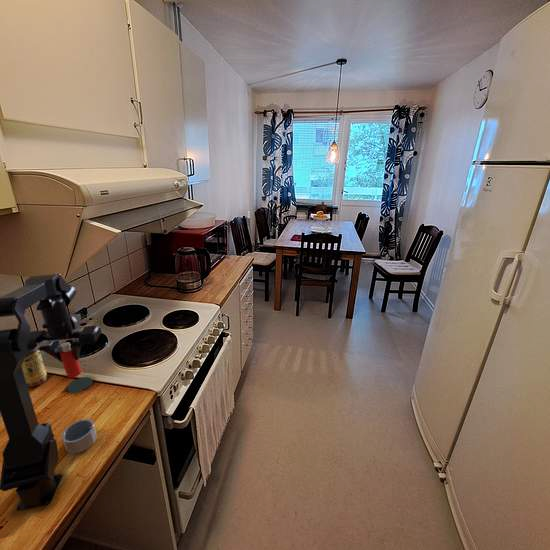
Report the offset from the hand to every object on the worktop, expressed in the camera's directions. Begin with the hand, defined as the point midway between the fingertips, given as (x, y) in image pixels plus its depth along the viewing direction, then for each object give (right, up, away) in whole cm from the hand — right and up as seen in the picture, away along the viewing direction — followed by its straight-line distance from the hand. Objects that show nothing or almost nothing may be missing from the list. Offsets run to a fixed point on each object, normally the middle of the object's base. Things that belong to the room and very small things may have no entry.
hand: (70, 360), depth 87 cm
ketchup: (0, -5, +2) cm, 5 cm away
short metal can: (+11, -19, -10) cm, 24 cm away
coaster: (-3, -11, +9) cm, 14 cm away
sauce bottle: (-19, -10, +10) cm, 24 cm away
